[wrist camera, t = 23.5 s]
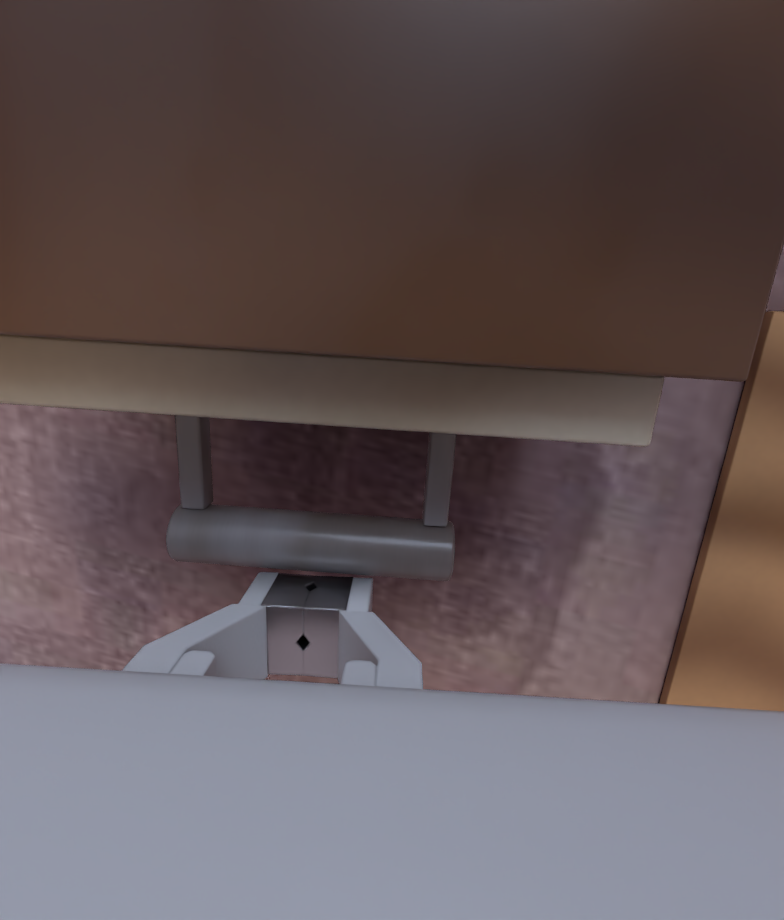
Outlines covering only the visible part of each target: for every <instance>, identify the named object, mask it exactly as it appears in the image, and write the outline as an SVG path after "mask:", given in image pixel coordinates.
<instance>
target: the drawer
mask: <svg viewBox="0 0 784 920" xmlns="http://www.w3.org/2000/svg"><path fill="white" fill-rule="evenodd" d="M663 383H664V377H661V376H646V375H630V374H614V373H598V372H583V371H567V370H551V369H536V368H520V367H504V366H488V365H473V364H457V363H441V362H426V361H410V360H394V359H379V358H363V357H347V356H331V355H316V354H300V353H284V352H269V351H253V350H237V349H221V348H206V347H190V346H174V345H159V344H143V343H127V342H112V341H96V340H80V339H64V338H49V337H33V336H17V335H2V334H0V404H13V405H28V406H43V407H58V408H73V409H88V410H103V411H118V412H133V413H148V414H162V415H175V424H176V438H177V453H178V467H179V481H180V496H181V505H179V506H178V507H177V508H176V509H175V511H174V512H173V514H172V516H171V518H170V521H169V524H168V528H167V535H166V545H167V551H168V553H169V555H170V557H171V558H172V559H174V560H175V561H179V562H193V563H206V564H220V565H234V566H247V567H261V568H274V569H288V570H301V571H315V572H328V573H342V574H356V575H369V576H383V577H396V578H410V579H423V580H437V581H448V580H450V578H451V576H452V573H453V567H454V557H455V531H454V526H453V523H452V522H450V521H448V513H449V503H450V493H451V483H452V473H453V463H454V453H455V444H456V434H461V435H476V436H491V437H506V438H521V439H536V440H551V441H566V442H581V443H596V444H611V445H626V446H641V447H645V446H649V445H650V442H651V438H652V433H653V429H654V424H655V420H656V415H657V411H658V406H659V402H660V397H661V392H662V388H663ZM209 418H222V419H237V420H252V421H267V422H282V423H297V424H312V425H327V426H342V427H357V428H372V429H387V430H402V431H417V432H429V442H428V454H427V466H426V478H425V489H424V501H423V513H422V518H423V519H412V518H398V517H384V516H370V515H356V514H342V513H327V512H313V511H299V510H285V509H271V508H257V507H243V506H229V505H215V504H211V503H212V502H213V484H212V464H211V444H210V423H209Z"/></svg>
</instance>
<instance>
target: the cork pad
mask: <svg viewBox="0 0 784 920" xmlns="http://www.w3.org/2000/svg"><path fill="white" fill-rule="evenodd" d="M659 704H673V705H689V706H705V707H722V708H738V709H754V710H770V711H784V312H782V311H769V312H765V314H764V318H763V322H762V326H761V329H760V333H759V337H758V340H757V344H756V348H755V352H754V355H753V359H752V363H751V366H750V370H749V374H748V378H747V379H746V382H745V386H744V390H743V394H742V397H741V401H740V405H739V408H738V412H737V416H736V420H735V423H734V427H733V431H732V434H731V438H730V442H729V446H728V449H727V453H726V457H725V460H724V464H723V468H722V472H721V475H720V479H719V483H718V486H717V490H716V494H715V498H714V501H713V505H712V509H711V513H710V516H709V520H708V524H707V527H706V531H705V535H704V539H703V542H702V546H701V550H700V553H699V557H698V561H697V565H696V568H695V572H694V576H693V579H692V583H691V587H690V591H689V594H688V598H687V602H686V605H685V609H684V613H683V617H682V620H681V624H680V628H679V631H678V635H677V639H676V643H675V646H674V650H673V654H672V658H671V661H670V665H669V669H668V672H667V676H666V680H665V684H664V687H663V691H662V695H661V698H660V702H659Z"/></svg>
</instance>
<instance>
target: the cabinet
mask: <svg viewBox="0 0 784 920" xmlns="http://www.w3.org/2000/svg"><path fill="white" fill-rule="evenodd" d="M783 244H784V0H0V334H2V335H17V336H33V337H49V338H64V339H80V340H96V341H112V342H127V343H143V344H159V345H174V346H190V347H206V348H221V349H237V350H253V351H269V352H284V353H300V354H316V355H331V356H347V357H363V358H379V359H394V360H410V361H426V362H441V363H457V364H473V365H488V366H504V367H520V368H536V369H551V370H567V371H583V372H598V373H614V374H630V375H646V376H661V377H677V378H693V379H708V380H724V381H740V382H741V381H745V380H746V379H747V378H748V374H749V370H750V366H751V363H752V359H753V355H754V352H755V348H756V344H757V340H758V337H759V333H760V329H761V326H762V322H763V318H764V314H765V311H766V307H767V303H768V300H769V296H770V292H771V288H772V285H773V281H774V277H775V274H776V270H777V266H778V262H779V259H780V255H781V251H782V248H783Z"/></svg>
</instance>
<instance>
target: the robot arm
mask: <svg viewBox="0 0 784 920" xmlns="http://www.w3.org/2000/svg"><path fill="white" fill-rule="evenodd" d="M372 596H373V578H353V577H333V576H313V575H300V574H287V573H279V572H259V573H258V575H257V576H256V578H255V579H254V581H253V582H252V584H251V585H250V587H249V588H248V590H247V591H246V593H245V594H244V596H243V597H242V599H241V600H240V602H239V603H238V604H231V605H229V606H227V607H225V608H222V609H220V610H218V611H216V612H214V613H212V614H210V615H208V616H206V617H203V618H201V619H199V620H197V621H195V622H193V623H191V624H189V625H186V626H184V627H182V628H180V629H178V630H176V631H174V632H172V633H170V634H167V635H165V636H163V637H161V638H159V639H157V640H155V641H153V642H150V643H148V644H146V645H144V646H143V647H142V648H141V649H140V650H139V652H138V653H137V654H136V655H135V656H134V657H133V658H132V660H131V661H130V662H129V663H128V664H127V665H126V666H125V667H124V669H123V670H122V671H118V670H102V669H86V668H69V667H53V666H36V665H20V664H3V663H0V920H784V711H770V710H754V709H738V708H722V707H705V706H689V705H673V704H657V703H640V702H624V701H608V700H592V699H575V698H559V697H543V696H526V695H510V694H494V693H478V692H461V691H445V690H428V689H423V678H422V663H421V662H420V661H419V660H418V659H417V658H416V657H415V655H414V654H413V653H412V652H411V651H410V650H409V649H408V648H407V647H406V646H405V645H404V644H403V643H402V642H401V641H400V640H399V639H398V637H397V636H396V635H395V634H394V633H393V632H392V631H391V630H390V629H389V628H388V627H387V626H386V625H385V624H384V623H383V622H382V621H381V619H380V618H379V617H378V616H377V615H376V614H375V613H374V612H372ZM268 674H277V675H305V676H316V677H327V678H338V682H339V684H330V683H314V682H297V681H281V680H265V678H266V677H267V676H268Z"/></svg>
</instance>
